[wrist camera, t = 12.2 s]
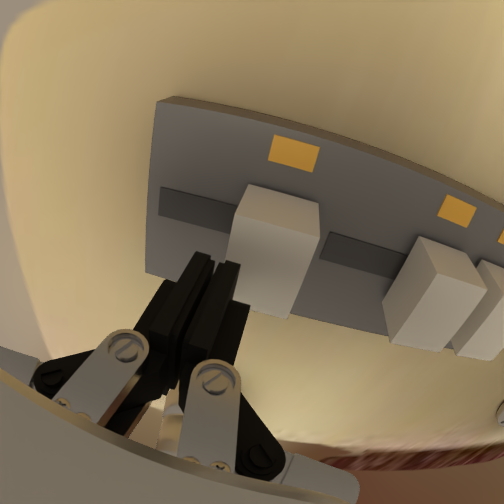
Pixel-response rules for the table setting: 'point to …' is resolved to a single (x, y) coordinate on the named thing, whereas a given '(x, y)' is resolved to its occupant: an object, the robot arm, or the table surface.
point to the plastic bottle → (170, 424)
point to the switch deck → (309, 188)
